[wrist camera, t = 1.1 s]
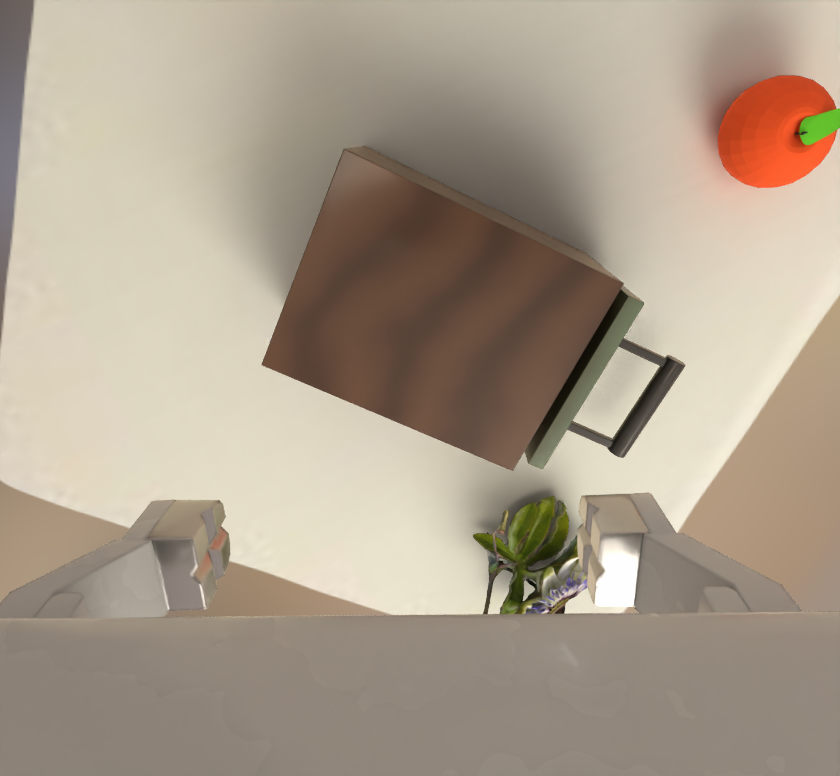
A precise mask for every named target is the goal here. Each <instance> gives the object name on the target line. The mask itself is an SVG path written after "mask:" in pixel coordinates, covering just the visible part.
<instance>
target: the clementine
mask: <svg viewBox="0 0 840 776" xmlns="http://www.w3.org/2000/svg"><path fill="white" fill-rule="evenodd" d="M839 128H840V109H836V106H835V103H834V101H833V99H832V98H831V96H830V95H829V94H828V92H827V91H826V90H825V89H824V87H822V86H821V85H819V84H818V83H817V82H815V81H814V80H811V79H808V78H804V77H801V76H794V75H790V76H776V77H773V78H769V79H766V80H763V81H761V82H759V83H757V84H755V85H754V86H752V87H750V88H749V89H747V90H745V91H744V92H743V93H742V94H741V95H740V96H739V97H738V98H737V99H736V100H735V101H734V102H733V103H732V105H731V106H730V108H729V109H728V111H727V112H726V113H725V116H724V118H723V121H722V123H721V126H720V129H719V135H718V149H719V156H720V158H721V161H722V163H723V166H724V167H725V168H726V170H727V171H728V172H729V173H730V175H731V176H733V177H734V178H736V179H738V180H739V181H741V182H742V183H744V184H747V185H750V186H754V187H757V188H772V187H779V186H783V185H787V184H790V183H793V182H795V181H797V180H799V179H800V178H802V177H804V176H806V175H807V174H808V173H810V172H811V171H812V170H813V169H814V168H815V167H817V166H818V165H819V164H820V163H821V162H822V160H823V159H824V158H825V156H826V155H827V154H828V153H829V151H830V149H831V147H832V144H833V142H834V140H835V137H836V132H837V129H839Z"/></svg>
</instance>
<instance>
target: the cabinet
mask: <svg viewBox="0 0 840 776" xmlns="http://www.w3.org/2000/svg"><path fill="white" fill-rule="evenodd" d="M623 284H624V283H622V282H621V281H620V280H619V279H617V278H616V277H615V276H613V275H612V274H611V273H610V272H608V271H607V270H606V269H605V268H603V267H602V266H601V265H600V264H598V263H597V262H596V261H594V260H593V259H592V258H591V257H589V256H588V255H587V254H586V253H584V252H582V251H580V250H578V249H576V248H574V247H572V246H570V245H568V244H566V243H564V242H561V241H559V240H557V239H555V238H553V237H551V236H549V235H547V234H545V233H543V232H541V231H539V230H537V229H535V228H533V227H531V226H528V225H526V224H524V223H522V222H520V221H518V220H516V219H514V218H512V217H510V216H508V215H506V214H504V213H502V212H500V211H498V210H496V209H493V208H491V207H489V206H487V205H485V204H483V203H481V202H479V201H477V200H475V199H473V198H471V197H469V196H467V195H465V194H463V193H461V192H458V191H456V190H454V189H452V188H450V187H448V186H446V185H444V184H442V183H440V182H438V181H436V180H434V179H432V178H430V177H428V176H426V175H423V174H421V173H419V172H417V171H415V170H413V169H411V168H409V167H407V166H405V165H403V164H401V163H399V162H397V161H395V160H393V159H391V158H388V157H386V156H384V155H382V154H380V153H378V152H376V151H374V150H372V149H370V148H368V147H366V146H361V147H355V148H348V149H344V150H343V153H342V155H341V158H340V160H339V163H338V166H337V168H336V171H335V173H334V176H333V179H332V181H331V184H330V187H329V189H328V192H327V194H326V197H325V200H324V202H323V205H322V208H321V210H320V213H319V215H318V218H317V221H316V223H315V226H314V228H313V231H312V234H311V236H310V239H309V242H308V244H307V247H306V249H305V252H304V255H303V257H302V260H301V263H300V265H299V268H298V270H297V273H296V276H295V278H294V281H293V283H292V286H291V289H290V291H289V294H288V297H287V299H286V302H285V304H284V307H283V310H282V312H281V315H280V318H279V320H278V323H277V325H276V328H275V331H274V333H273V336H272V338H271V341H270V344H269V346H268V349H267V352H266V354H265V357H264V359H263V362H262V365H263V366H265V367H267V368H270V369H272V370H275V371H277V372H279V373H282V374H284V375H286V376H289V377H291V378H294V379H296V380H298V381H301V382H303V383H305V384H308V385H310V386H313V387H315V388H317V389H320V390H322V391H324V392H327V393H329V394H332V395H334V396H336V397H339V398H341V399H343V400H346V401H348V402H350V403H353V404H355V405H358V406H360V407H362V408H365V409H367V410H369V411H372V412H374V413H377V414H379V415H381V416H384V417H386V418H388V419H391V420H393V421H396V422H398V423H400V424H403V425H405V426H407V427H410V428H412V429H415V430H417V431H419V432H422V433H424V434H426V435H429V436H431V437H433V438H436V439H438V440H441V441H443V442H445V443H448V444H450V445H452V446H455V447H457V448H460V449H462V450H464V451H467V452H469V453H471V454H474V455H476V456H479V457H481V458H483V459H486V460H488V461H490V462H493V463H495V464H497V465H500V466H502V467H505V468H507V469H509V470H512V471H513V469H514V468H515V466H516V464H517V463H518V461H519V459H520V458H521V456H522V454H523V453H524V451H525V449H526V448H527V446H528V444H529V443H530V441H531V439H532V437H533V436H534V434H535V432H536V431H537V429H538V427H539V426H540V424H541V422H542V421H543V419H544V417H545V416H546V414H547V412H548V411H549V409H550V407H551V406H552V404H553V402H554V400H555V399H556V397H557V395H558V394H559V392H560V390H561V389H562V387H563V385H564V384H565V382H566V380H567V379H568V377H569V375H570V374H571V372H572V370H573V368H574V367H575V365H576V363H577V362H578V360H579V358H580V357H581V355H582V353H583V352H584V350H585V348H586V347H587V345H588V343H589V342H590V340H591V338H592V336H593V335H594V333H595V331H596V330H597V328H598V326H599V325H600V323H601V321H602V320H603V318H604V316H605V315H606V313H607V311H608V310H609V308H610V306H611V305H612V303H613V301H614V299H615V298H616V296H617V294H618V293H619V291H620V289H621V288H622V286H623Z"/></svg>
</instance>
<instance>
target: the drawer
mask: <svg viewBox="0 0 840 776" xmlns="http://www.w3.org/2000/svg"><path fill="white" fill-rule="evenodd" d="M643 305H644V302H642V301H641V300H640V299H639V298H637V297H636V296H635V295H634V294H632V293H631V292H630V291H629V290H627V289H626V288H625V287H624V286H622V288H621V289H620V291H619V293H618V294H617V296H616V298H615V299H614V301H613V303H612V305H611V306H610V308H609V310H608V311H607V313H606V315H605V316H604V318H603V320H602V321H601V323H600V325H599V326H598V328H597V330H596V331H595V333H594V335H593V336H592V338H591V340H590V342H589V343H588V345H587V347H586V348H585V350H584V352H583V353H582V355H581V357H580V358H579V360H578V362H577V363H576V365H575V367H574V368H573V370H572V372H571V374H570V375H569V377H568V379H567V380H566V382H565V384H564V385H563V387H562V389H561V390H560V392H559V394H558V395H557V397H556V399H555V400H554V402H553V404H552V406H551V407H550V409H549V411H548V412H547V414H546V416H545V417H544V419H543V421H542V422H541V424H540V426H539V427H538V429H537V431H536V432H535V434H534V436H533V437H532V439H531V441H530V443H529V444H528V446H527V448H526V449H525V454H526V457H527V461H528V463H529V464H531V465H533V466H536V467H538V468H540V469H543V468H544V466H545V465H546V463H547V461H548V460H549V458H550V456H551V455H552V453H553V451H554V450H555V448H556V447H557V445H558V443H559V442H560V440H561V438H562V437H563V435H564V434H565V432H566V430H570V431H572V432H574V433H576V434H579V435H581V436H583V437H586V438H588V439H590V440H592V441H595V442H597V443H599V444H602V445H604V446H606V447H607V448H608V450H609V451H610V452H611V453H613V454H614V455H616V456H618V457H621V458H624V457H625V455H626V454H627V452H628V451H629V449H630V448H631V446H632V445H633V443H634V442H635V440H636V439H637V437H638V436H639V434H640V433H641V431H642V430H643V428H644V427H645V425H646V424H647V422H648V421H649V419H650V418H651V416H652V415H653V413H654V412H655V410H656V409H657V407H658V406H659V404H660V403H661V401H662V400H663V399H664V397H665V396H666V394H667V393H668V391H669V390H670V388H671V387H672V385H673V384H674V382H675V381H676V379H677V378H678V376H679V375H680V373H681V372H682V370H683V369H684V367H685V364H684V363H683V362H681V361H680V360H678V359H676V358H674V357H672V356H669V355H667V356H666V357H663V356H661V355H659V354H657V353H655V352H653V351H650V350H648V349H646V348H644V347H642V346H640V345H638V344H635V343H633V342H631V341H629V340H627V339H625V338H624V336H625V334H626V333H627V331H628V330H629V328H630V326H631V325H632V323H633V321H634V320H635V318H636V317H637V315H638V313H639V312H640V310H641V308H642V307H643ZM618 346H619V347H621V348H623V349H625V350H627V351H629V352H631V353H634V354H636V355H638V356H640V357H642V358H644V359H646V360H649V361H651V362H653V363H655V364H657V365H659V366H660V367H659V368H658V370H657V371H656V373H655V374H654V376H653V377H652V379H651V381H650V382H649V384H648V385H647V387H646V388H645V390H644V391H643V393H642V394H641V396H640V397H639V399H638V400H637V402H636V404H635V405H634V407H633V408H632V410H631V411H630V413H629V414H628V416H627V417H626V419H625V420H624V422H623V423H622V425H621V427H620V428H619V430H618V431H617V433H616V434H615V436H614V437H613V439H612V438H610V437H607V436H605V435H603V434H601V433H598V432H596V431H594V430H592V429H589V428H587V427H585V426H583V425H580V424H578V423H576V422H573V419H574V417H575V416H576V414H577V412H578V411H579V409H580V408H581V406H582V404H583V403H584V401H585V399H586V398H587V396H588V395H589V393H590V391H591V390H592V388H593V386H594V385H595V383H596V382H597V380H598V378H599V377H600V375H601V373H602V372H603V370H604V369H605V367H606V365H607V364H608V362H609V360H610V359H611V357H612V356H613V354H614V352H615V351H616V349H617V347H618Z"/></svg>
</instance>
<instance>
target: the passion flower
mask: <svg viewBox="0 0 840 776" xmlns="http://www.w3.org/2000/svg"><path fill="white" fill-rule="evenodd" d="M566 509H567V508H566V506H565V505H564V503H562V502H561V501H558V510H557V512H556V514H555V497H554V496H550V497H546V498H542V499H540V500H539V501H538V502H532V503H530V504H527V505H525V506H524V507H522V508H521V509H520V510H518V512H517V513H516V514H515V515H514V517H513V519H512V521H511V523H510V526H509V530H508V536H507V542H506V544H504V543H503V541H502V540H501V539H500V538H497V537H495V533H496V532H498V533H500V534H502V535H504V534H505V527H506V522H507V520H508V513H509V511H508V510H505V511H504V512H503V517H502V521H501V524H500V526H499V528H498V529H497V530H496V531H495V532H494V533H493V534H492V535H490V534H489V533H488V532H487V534H486V533H477V534H474V535H473V537H474V539H475V540H476V541H477V542H478V543H479V544H480V545H482V546H483V547H484V548H485V549H487V552H488V559H489V584H488V590H487V598H486V603H485V609H484V613H483V614H488V608H489V604H490V597H491V592H492V586H493V581H494V579H495V577H496V576H497V575H498V573H499V572H501V570H507V571H510V572H512V573H513V577H512V579H511V581H510V585H509V593H508V595H507V597H506V599H505V601H504V602H503V605H502V607H501V608H500V614H564V611H565V604H566V602H567V601H568V600H569V599H572V598H574V597H575V596H577V595H578V594H579V593H580V592H581V591H583V590H584V589H586V588H587V574H585V573H584V572H583V571H582V569H581V566H580V563H579V558H578V551H577V536H576V538H575V539H574V540H573V541H572V542H571V543H570V545H569V547H568V548H567V549H565V550H564V552H563V554H562V555H561V556H560V557H558V558H557V559H556V560H555V561H554V562H552V563H551V564H549V565H548V566H546V567H543V568H541V569H538V570H528V567H529V566H532V565H534V564H535V563H536V562H537V561H539V560H546V559H548V558H551V557H553V556H555V555H557V554H558V553H559V552H560V551H561V550H562V549H563V547H564V542H565V540H566V537H567V535H568V528H569V524H568V523H569V519H568V515H567V512H566ZM552 518H553V520H552V525H551V524H550V523H551V519H552ZM550 525H551V527H550ZM549 528H550V530H549ZM548 531H549V532H548ZM499 558H502V559H506V560H507V561H508V563H507V564H504V563H503V561H499ZM529 579H532V580H533V581H535V583H536V584H535V583H534V582H533V581H530V580H529ZM525 580H526V581H527V582H528V583H529V584H530V585H532V586H533V587H534V588H535V591H534V592H533V593H531V594H530V595H529V596H528V598H527V599H526V600H525V601H523V596H524V581H525Z"/></svg>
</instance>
